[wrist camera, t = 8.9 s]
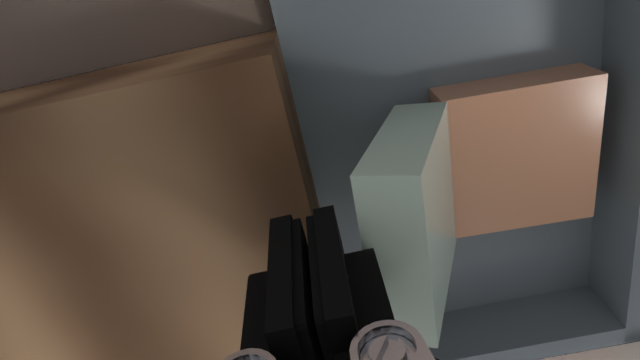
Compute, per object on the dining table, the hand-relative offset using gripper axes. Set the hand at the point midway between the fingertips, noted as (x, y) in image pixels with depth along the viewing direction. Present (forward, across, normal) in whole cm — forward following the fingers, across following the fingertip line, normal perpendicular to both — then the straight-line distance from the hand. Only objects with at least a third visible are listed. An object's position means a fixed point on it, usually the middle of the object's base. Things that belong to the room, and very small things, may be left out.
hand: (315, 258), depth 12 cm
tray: (+6, -6, +1) cm, 8 cm away
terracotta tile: (+3, -7, 0) cm, 8 cm away
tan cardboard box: (+6, +7, +1) cm, 9 cm away
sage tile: (+2, -2, 0) cm, 3 cm away
